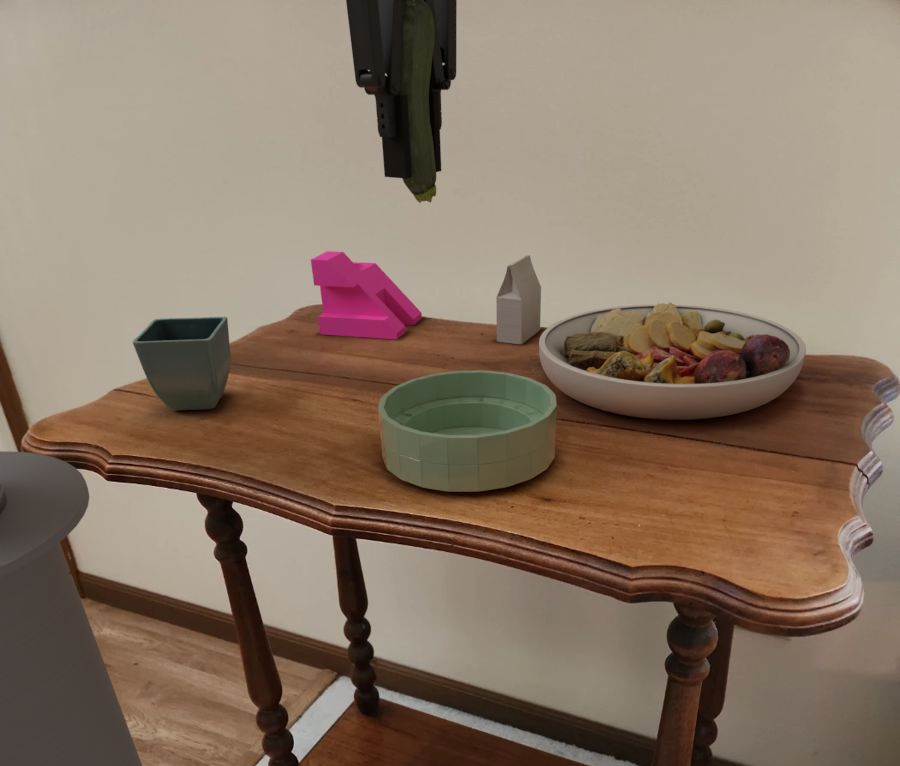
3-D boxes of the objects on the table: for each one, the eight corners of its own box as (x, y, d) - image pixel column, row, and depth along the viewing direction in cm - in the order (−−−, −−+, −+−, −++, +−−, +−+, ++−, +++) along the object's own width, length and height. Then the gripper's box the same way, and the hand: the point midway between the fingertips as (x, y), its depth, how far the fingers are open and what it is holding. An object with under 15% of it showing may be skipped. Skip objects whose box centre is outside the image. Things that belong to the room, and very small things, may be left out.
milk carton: (540, 330, 115) (541, 255, 110) (521, 344, 110) (522, 267, 105) (516, 327, 117) (516, 254, 111) (496, 341, 112) (496, 265, 106)
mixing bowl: (348, 466, 81) (341, 409, 78) (456, 412, 92) (455, 359, 88) (483, 515, 72) (482, 453, 68) (587, 448, 82) (590, 392, 79)
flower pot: (226, 416, 93) (210, 338, 88) (151, 419, 93) (130, 341, 88) (242, 389, 101) (228, 315, 95) (172, 391, 101) (154, 318, 96)
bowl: (487, 388, 97) (486, 322, 93) (630, 328, 114) (635, 270, 110) (710, 457, 80) (723, 379, 75) (841, 374, 97) (858, 306, 92)
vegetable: (408, 207, 76) (398, -68, 65) (383, 202, 78) (369, -62, 68) (446, 203, 78) (443, -64, 67) (420, 198, 81) (413, -58, 70)
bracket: (320, 334, 118) (310, 259, 112) (349, 314, 126) (341, 243, 120) (396, 339, 114) (391, 262, 108) (421, 318, 122) (417, 245, 116)
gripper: (354, -185, 56) (383, 189, 69) (496, -157, 67) (497, 164, 80) (282, -167, 60) (322, 184, 73) (426, -143, 70) (438, 160, 84)
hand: (413, 173), depth 77 cm, fingers closed on vegetable, 4 cm apart
